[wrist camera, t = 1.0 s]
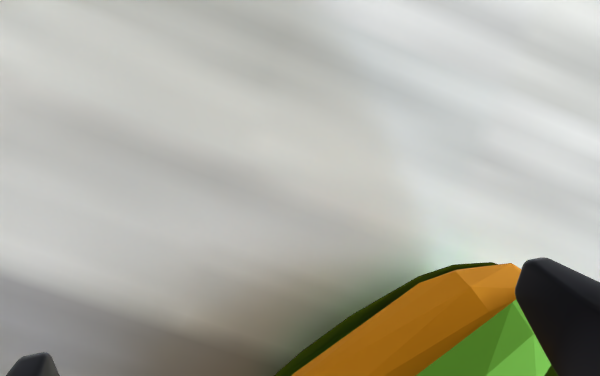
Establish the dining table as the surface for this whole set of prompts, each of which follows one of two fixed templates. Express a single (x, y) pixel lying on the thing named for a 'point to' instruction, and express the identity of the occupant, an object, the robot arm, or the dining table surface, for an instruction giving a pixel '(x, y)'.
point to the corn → (434, 331)
